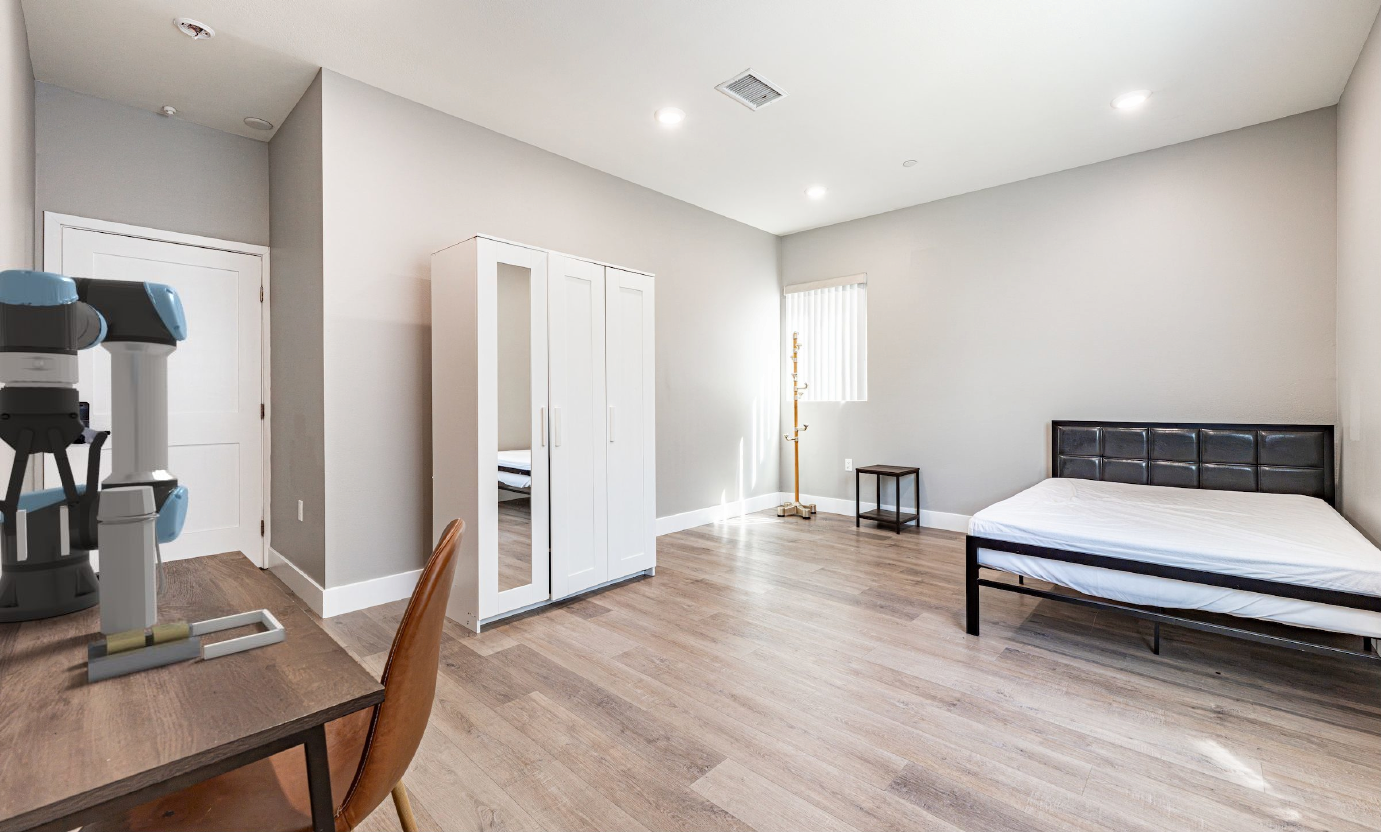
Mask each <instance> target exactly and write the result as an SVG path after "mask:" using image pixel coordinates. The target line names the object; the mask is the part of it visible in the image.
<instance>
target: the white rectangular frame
mask: <svg viewBox="0 0 1381 832" xmlns="http://www.w3.org/2000/svg"><path fill="white" fill-rule="evenodd" d="M259 622H262V623H263V625H265V627H266V628H267V629H268V631H263V632H259V633H254V634H251V635H250V634H249V635H246V636H242V637H237V638H233V639H228V640H224V641H219V642H215V643H211V644H206V645H203V658H204V660H209V659H214V658H217V657H221V656H226V655H230V654H234V653H239V652H242V651H246V650H247V651H248V650H250V649H254V648H255V649H256V648H260V647H264V646H267V645H271V644H275V643H279V642H280V643H281V642H284V641H286V628H285V627H284V626H283V625H282V624H281V622H279V621H278V620H277V618H276V617H275V616H274V615H273V614H272V613H271V612H270V611H269V610H268V608H262V609H257V610H253V611H252V610H251V611H248V612H247V611H246V612H242V613H237V614H233V615H232V614H231V615H228V616H222V617H219V618H218V617H217V618H212V619H207V620H204V621H198V622H194V623H192V625H193V637H196V636H199V635H203V634H207V633H208V634H209V633H213V632H218V631H222V630H226V629H231V628H236V627H241V626H247V625H250V624H255V623H259Z"/></svg>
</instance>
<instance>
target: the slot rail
mask: <svg viewBox="0 0 1381 832" xmlns="http://www.w3.org/2000/svg"><path fill="white" fill-rule="evenodd" d="M187 624H188V626H189V638H187V639H183V640H178V641H173V642H169V643H164V644H160V645H155V646H152V630H150V631H144V633H145V648H141V649H136V650H132V651H127V652H123V653H118V654H113V655H109V656H107V639H106V640H101V641H96V642H91V643H87V644H86V645H87V646H86V647H87V650H86V651H87V670H88V672H87V673H88V683H93V682H96V681H97V682H98V681H102V680H106V679H110V678H115V677H118V676H123V675H127V674H131V673H136V672H141V671H144V670H148V669H152V668H157V667H161V666H165V665H169V664H173V663H179V662H181V661H182V662H183V661H185V660H186V661H187V660H190V659H195V658H199V657H201V638H200V637H199V635H195V636H193V625H192V624H193V623H192V622H189V623H187Z"/></svg>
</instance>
